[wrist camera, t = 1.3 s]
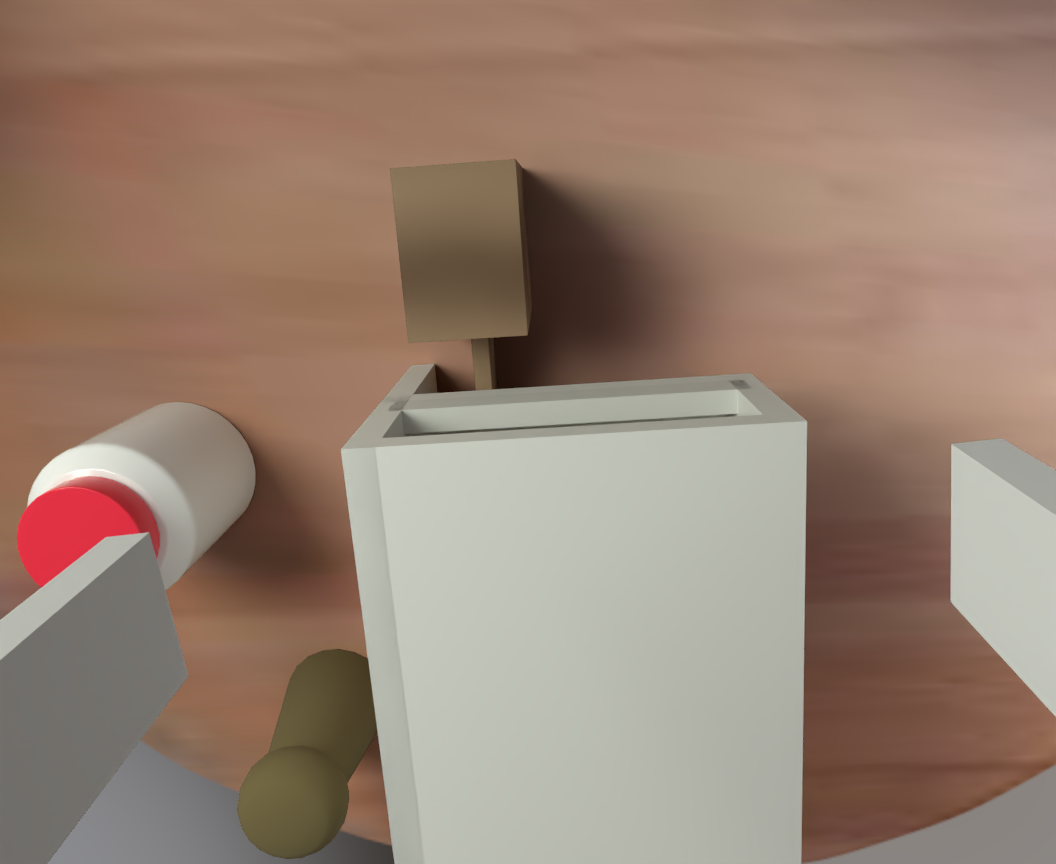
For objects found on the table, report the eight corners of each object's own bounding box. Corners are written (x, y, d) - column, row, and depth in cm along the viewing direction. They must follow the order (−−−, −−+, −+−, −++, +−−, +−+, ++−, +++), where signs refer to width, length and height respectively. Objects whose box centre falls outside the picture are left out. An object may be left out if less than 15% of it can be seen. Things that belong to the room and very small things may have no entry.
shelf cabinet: (412, 365, 45) (340, 449, 30) (718, 345, 45) (806, 421, 29) (450, 732, 51) (407, 962, 36) (723, 719, 50) (800, 948, 35)
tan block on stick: (422, 175, 43) (390, 168, 34) (522, 167, 43) (515, 159, 34) (456, 532, 48) (435, 605, 39) (546, 527, 48) (546, 599, 39)
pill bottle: (112, 523, 48) (-12, 614, 38) (119, 389, 46) (-10, 446, 36) (250, 546, 48) (165, 644, 38) (262, 414, 46) (177, 478, 36)
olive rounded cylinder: (390, 652, 50) (347, 773, 39) (390, 743, 51) (348, 884, 41) (286, 646, 50) (214, 766, 39) (289, 737, 51) (221, 877, 41)
